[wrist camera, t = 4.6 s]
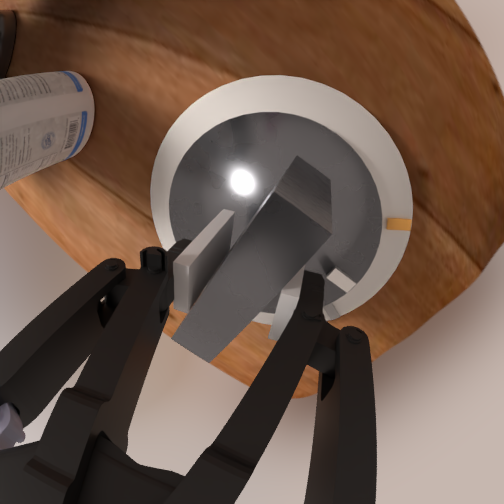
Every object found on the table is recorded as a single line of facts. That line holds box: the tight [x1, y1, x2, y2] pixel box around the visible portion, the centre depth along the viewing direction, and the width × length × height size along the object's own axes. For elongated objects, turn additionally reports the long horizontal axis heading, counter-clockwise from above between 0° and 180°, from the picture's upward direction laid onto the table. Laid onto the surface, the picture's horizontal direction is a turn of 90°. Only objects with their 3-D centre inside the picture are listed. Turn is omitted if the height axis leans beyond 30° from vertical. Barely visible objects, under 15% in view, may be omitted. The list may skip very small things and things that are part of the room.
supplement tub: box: [0, 71, 94, 189], centre depth 16 cm, size 10×10×15 cm
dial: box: [169, 112, 382, 363], centre depth 16 cm, size 15×15×9 cm
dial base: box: [150, 75, 413, 325], centre depth 21 cm, size 20×20×2 cm
